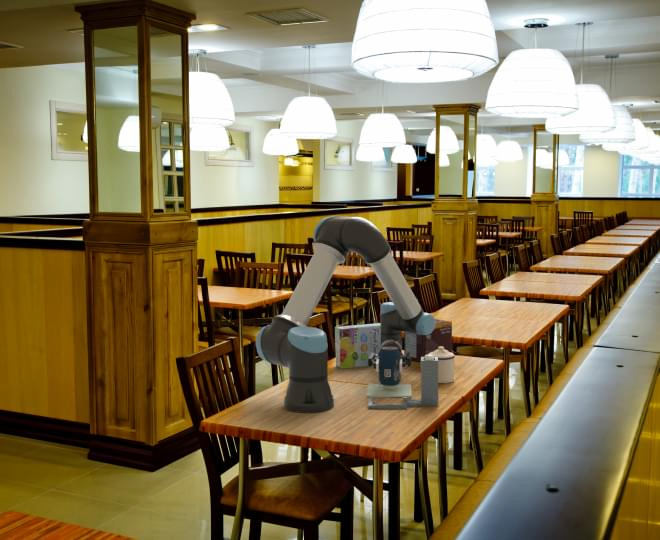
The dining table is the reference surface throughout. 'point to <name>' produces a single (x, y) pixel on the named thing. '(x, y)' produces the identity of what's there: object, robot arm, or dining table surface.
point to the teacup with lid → (444, 365)
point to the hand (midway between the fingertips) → (389, 367)
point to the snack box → (356, 344)
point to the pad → (389, 390)
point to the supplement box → (428, 341)
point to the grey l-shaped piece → (427, 388)
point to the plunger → (429, 357)
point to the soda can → (389, 366)
